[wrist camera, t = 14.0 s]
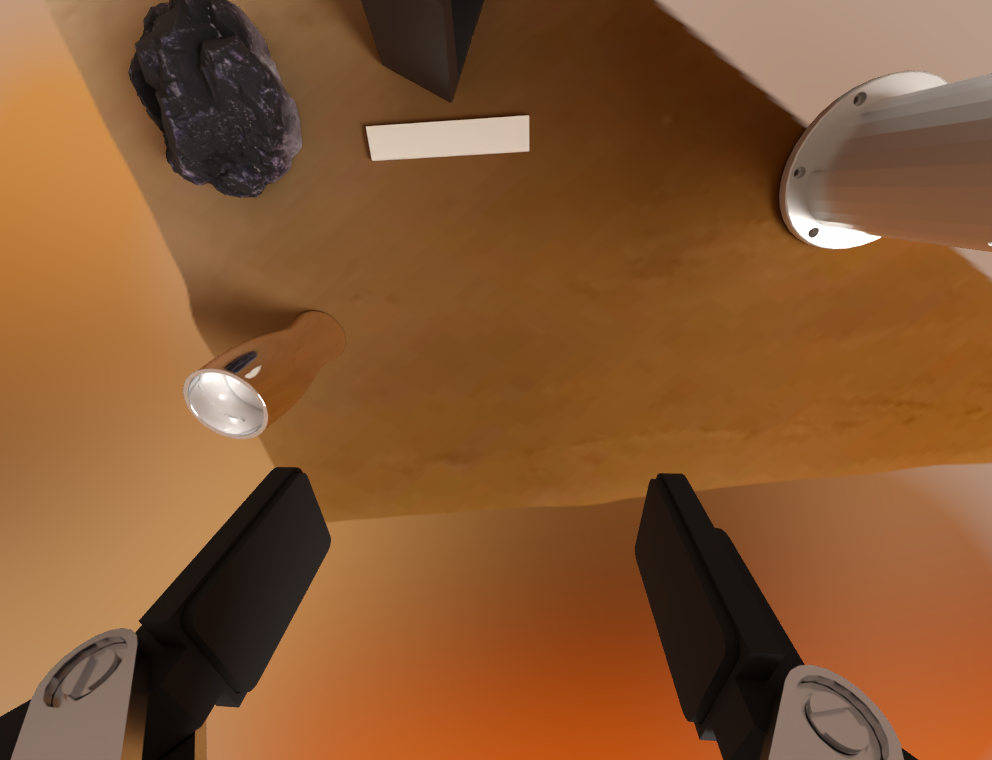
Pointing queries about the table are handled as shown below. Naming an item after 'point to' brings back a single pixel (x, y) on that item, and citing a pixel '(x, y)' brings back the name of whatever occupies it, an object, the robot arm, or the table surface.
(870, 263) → the table surface
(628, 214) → the table surface
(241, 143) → the black rock
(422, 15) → the phone stand
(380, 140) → the cream panel
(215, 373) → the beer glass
